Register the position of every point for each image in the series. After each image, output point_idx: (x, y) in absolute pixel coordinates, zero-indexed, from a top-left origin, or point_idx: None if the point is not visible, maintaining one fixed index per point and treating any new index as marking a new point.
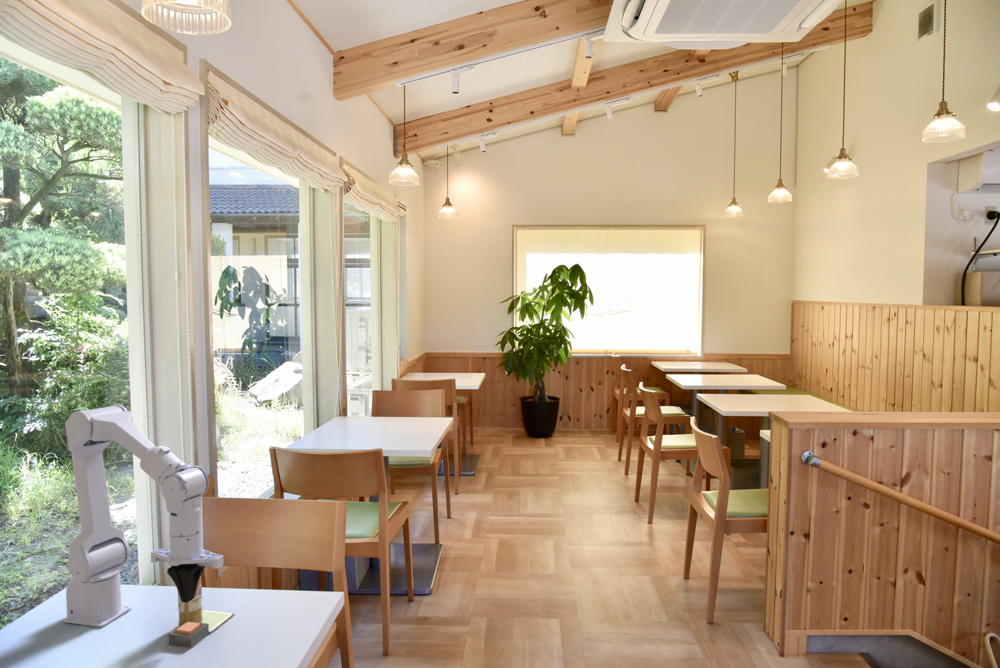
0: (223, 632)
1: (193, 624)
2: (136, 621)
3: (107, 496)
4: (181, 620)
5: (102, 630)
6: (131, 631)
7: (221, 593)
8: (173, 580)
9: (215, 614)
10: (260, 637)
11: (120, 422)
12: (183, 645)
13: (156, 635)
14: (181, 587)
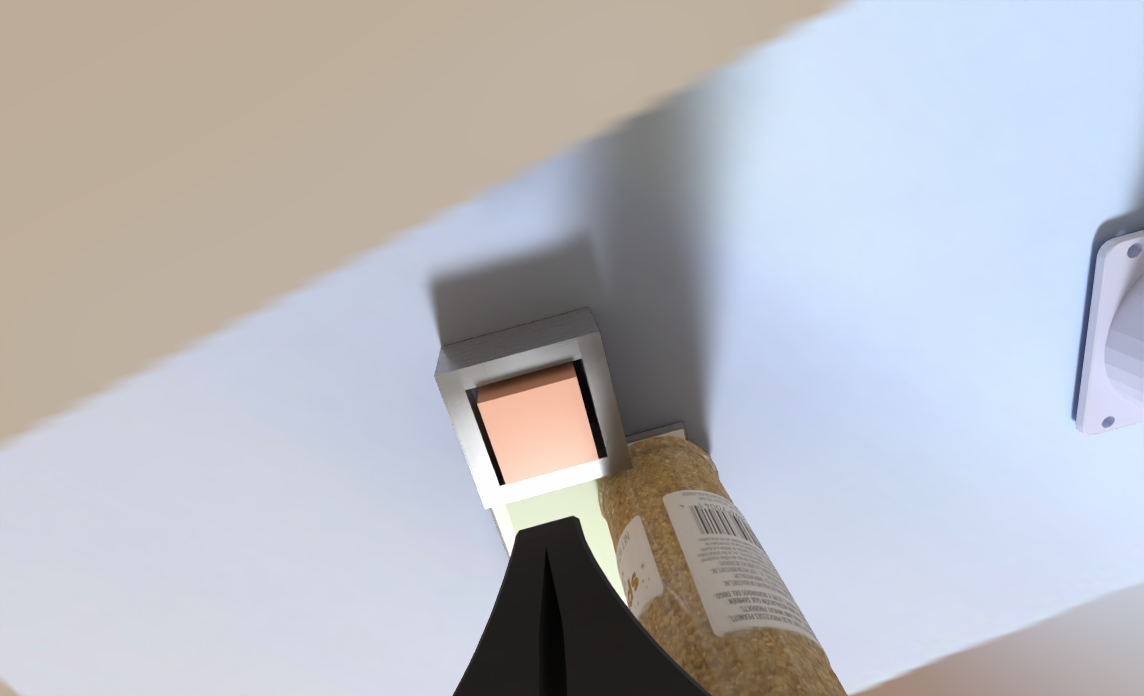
0: (436, 515)
1: (535, 459)
2: (959, 371)
3: None
4: (670, 460)
5: (1072, 229)
6: (906, 298)
7: None
8: (662, 664)
9: (614, 586)
10: (218, 573)
11: None
12: (493, 337)
13: (741, 337)
14: (565, 626)
